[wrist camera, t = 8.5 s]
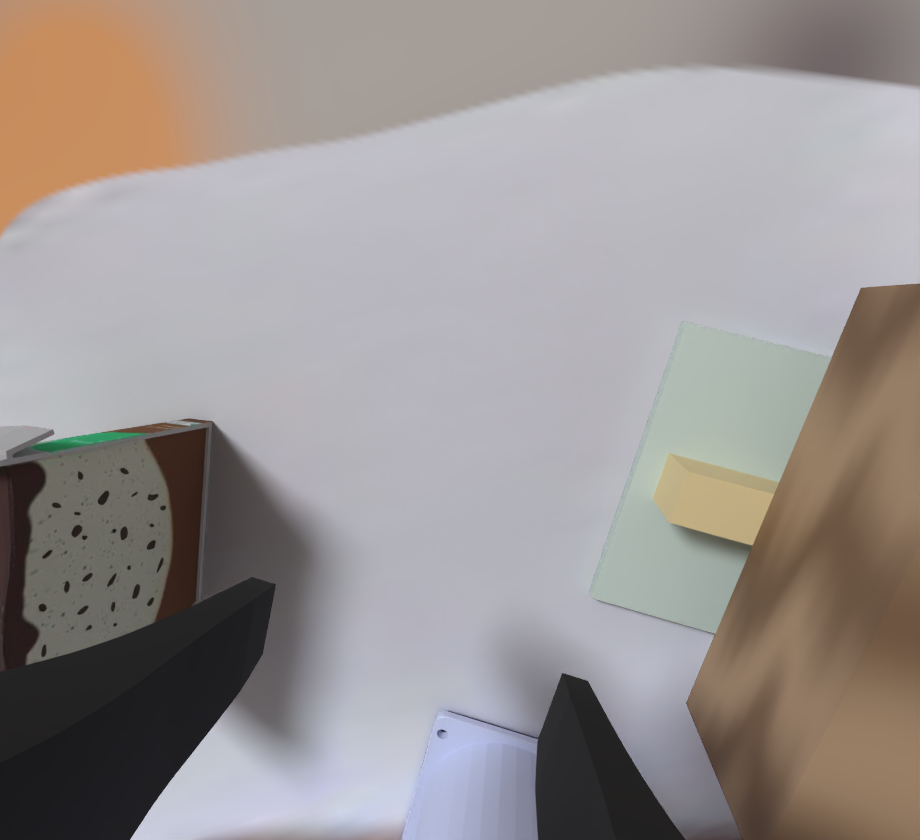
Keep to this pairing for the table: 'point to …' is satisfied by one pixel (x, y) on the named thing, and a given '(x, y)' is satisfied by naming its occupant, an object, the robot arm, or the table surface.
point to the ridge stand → (705, 474)
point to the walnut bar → (831, 609)
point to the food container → (98, 534)
